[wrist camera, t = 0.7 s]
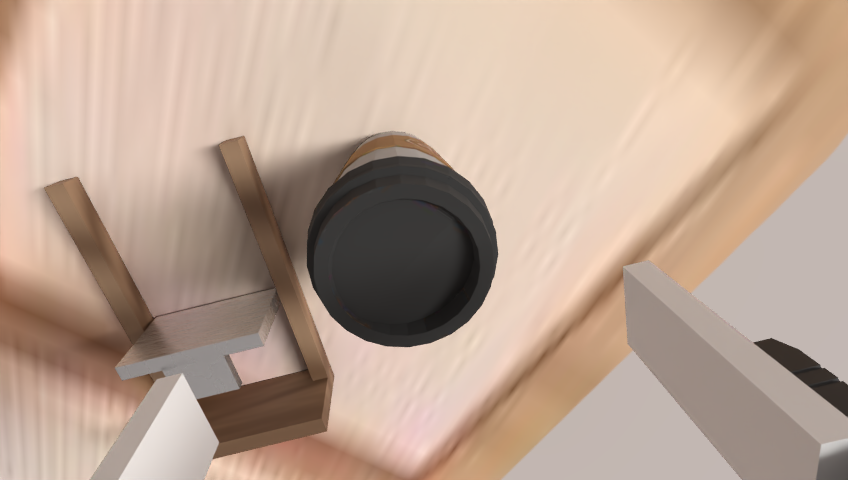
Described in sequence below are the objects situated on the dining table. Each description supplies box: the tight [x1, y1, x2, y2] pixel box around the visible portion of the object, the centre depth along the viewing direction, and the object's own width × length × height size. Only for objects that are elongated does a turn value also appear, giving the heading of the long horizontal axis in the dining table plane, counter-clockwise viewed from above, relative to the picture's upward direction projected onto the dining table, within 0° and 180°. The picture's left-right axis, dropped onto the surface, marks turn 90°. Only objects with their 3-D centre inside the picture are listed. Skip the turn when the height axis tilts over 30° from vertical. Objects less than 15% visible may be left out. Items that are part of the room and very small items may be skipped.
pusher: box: [115, 288, 281, 399], centre depth 33 cm, size 4×9×6 cm, turn 102°
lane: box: [44, 136, 334, 459], centre depth 32 cm, size 20×12×6 cm, turn 13°
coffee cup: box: [307, 131, 498, 347], centre depth 26 cm, size 8×8×15 cm
